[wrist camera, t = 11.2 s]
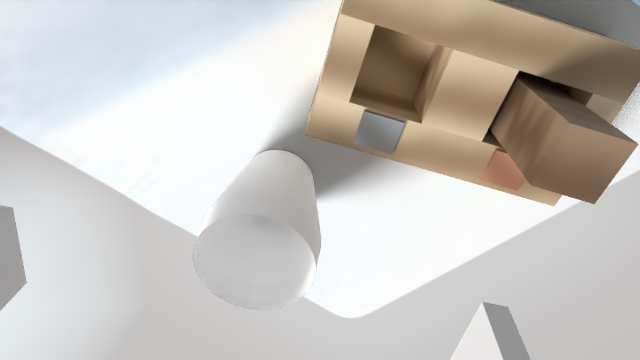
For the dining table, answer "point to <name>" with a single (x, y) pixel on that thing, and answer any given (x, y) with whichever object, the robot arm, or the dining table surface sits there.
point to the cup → (262, 235)
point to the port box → (455, 82)
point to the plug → (559, 139)
